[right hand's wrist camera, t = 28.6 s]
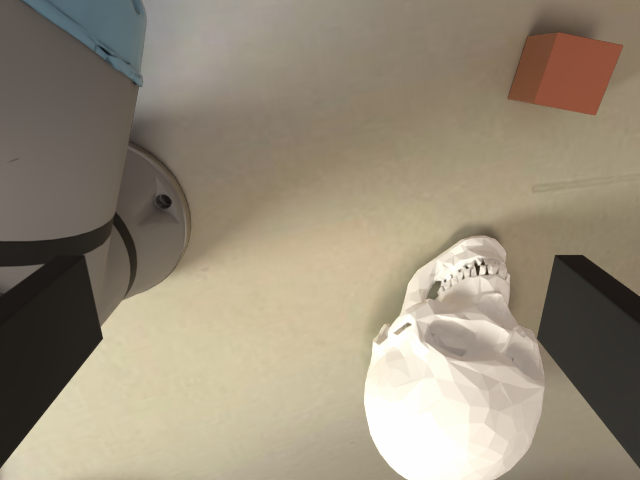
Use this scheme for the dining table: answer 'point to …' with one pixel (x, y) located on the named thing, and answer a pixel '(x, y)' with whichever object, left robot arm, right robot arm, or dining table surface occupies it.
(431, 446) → the skull
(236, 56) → the dining table surface
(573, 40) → the terracotta block
